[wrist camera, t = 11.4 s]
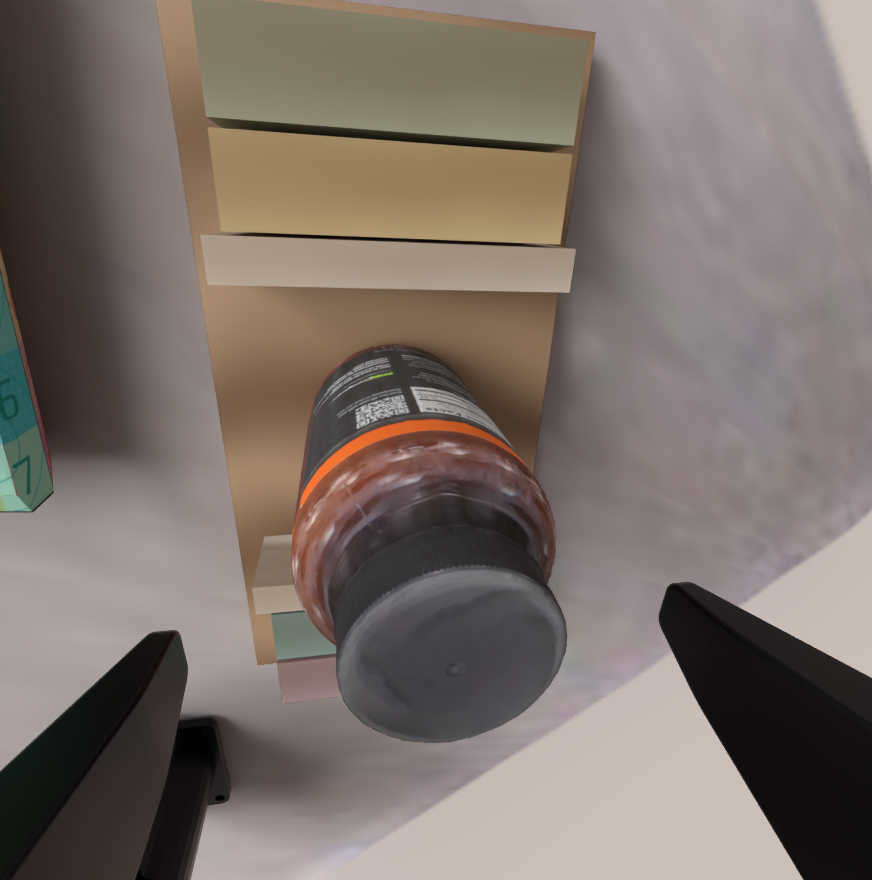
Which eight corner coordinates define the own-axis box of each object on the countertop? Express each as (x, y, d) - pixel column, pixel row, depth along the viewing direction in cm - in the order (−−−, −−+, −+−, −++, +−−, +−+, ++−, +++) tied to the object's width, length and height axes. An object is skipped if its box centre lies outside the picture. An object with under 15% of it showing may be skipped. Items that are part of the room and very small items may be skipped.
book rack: (501, 615, 25) (530, 690, 21) (262, 639, 23) (245, 727, 19) (573, 48, 16) (654, -11, 12) (171, 2, 13) (98, -91, 9)
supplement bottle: (396, 512, 20) (451, 819, 10) (275, 426, 17) (182, 715, 7) (500, 410, 19) (683, 637, 9) (386, 302, 16) (456, 443, 6)
